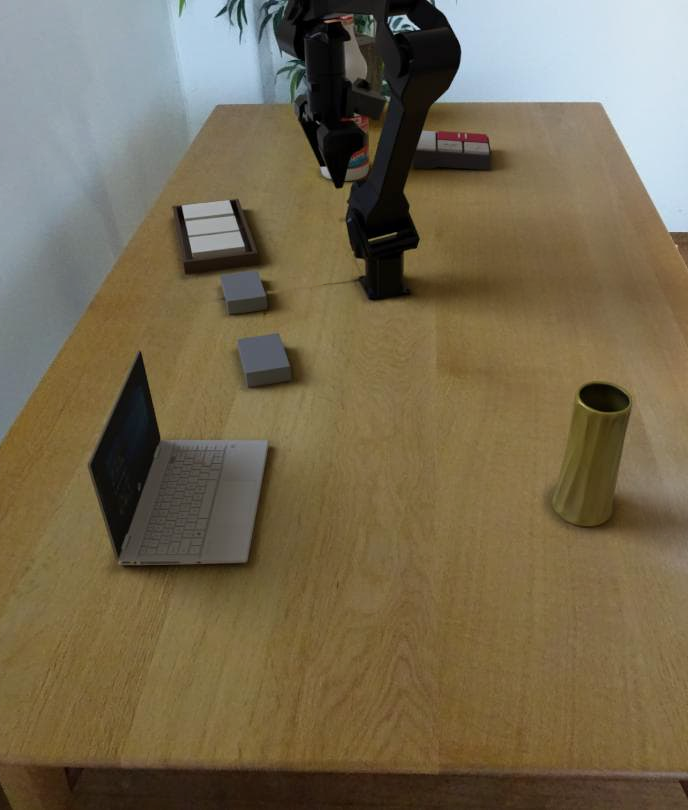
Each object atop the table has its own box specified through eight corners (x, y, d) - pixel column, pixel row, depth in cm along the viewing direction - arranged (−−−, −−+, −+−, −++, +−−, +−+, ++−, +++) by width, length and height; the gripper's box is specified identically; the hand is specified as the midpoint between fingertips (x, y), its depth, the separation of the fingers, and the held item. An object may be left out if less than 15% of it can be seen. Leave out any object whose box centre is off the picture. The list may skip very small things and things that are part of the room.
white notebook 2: (236, 227, 135) (234, 215, 133) (240, 242, 131) (239, 229, 129) (187, 233, 133) (185, 221, 132) (190, 248, 129) (188, 235, 127)
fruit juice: (356, 160, 160) (352, 7, 143) (377, 177, 154) (376, 17, 137) (312, 168, 157) (303, 12, 140) (332, 185, 150) (325, 23, 133)
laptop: (247, 566, 77) (231, 464, 69) (116, 567, 77) (84, 465, 69) (269, 444, 91) (258, 348, 83) (159, 444, 91) (136, 348, 83)
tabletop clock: (361, 109, 186) (359, -11, 170) (386, 119, 180) (386, -4, 165) (310, 122, 178) (303, -2, 163) (334, 133, 173) (329, 6, 158)
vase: (570, 478, 87) (591, 370, 79) (622, 503, 84) (649, 394, 75) (541, 508, 83) (559, 399, 75) (594, 536, 80) (619, 425, 72)
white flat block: (194, 265, 124) (192, 252, 123) (191, 250, 128) (188, 237, 127) (246, 259, 126) (244, 246, 125) (241, 243, 130) (239, 231, 129)
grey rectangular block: (267, 309, 115) (266, 295, 114) (228, 315, 114) (227, 301, 112) (258, 283, 121) (257, 269, 120) (221, 288, 120) (220, 274, 118)
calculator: (492, 151, 155) (414, 146, 154) (489, 173, 157) (412, 168, 157) (489, 132, 163) (415, 127, 163) (486, 153, 166) (413, 148, 166)
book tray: (259, 267, 125) (257, 252, 123) (185, 277, 122) (183, 262, 121) (240, 212, 141) (238, 198, 139) (174, 219, 138) (172, 205, 137)
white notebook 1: (230, 211, 140) (229, 199, 138) (235, 225, 136) (233, 212, 134) (183, 217, 138) (181, 205, 137) (186, 230, 134) (184, 218, 132)
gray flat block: (291, 380, 101) (290, 366, 100) (247, 387, 100) (245, 373, 99) (280, 346, 107) (278, 332, 106) (238, 353, 106) (236, 339, 105)
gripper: (401, 83, 109) (400, 193, 119) (361, 50, 124) (363, 150, 133) (321, 91, 107) (327, 202, 116) (290, 56, 121) (297, 158, 130)
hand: (331, 177), depth 124 cm, fingers open, 9 cm apart
